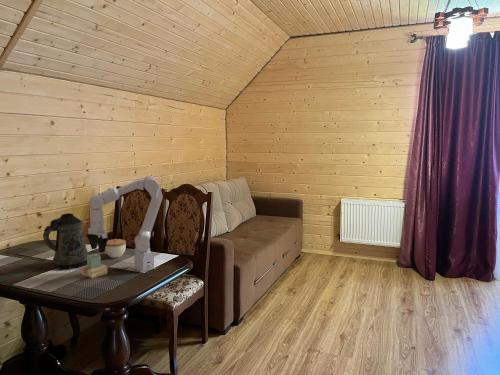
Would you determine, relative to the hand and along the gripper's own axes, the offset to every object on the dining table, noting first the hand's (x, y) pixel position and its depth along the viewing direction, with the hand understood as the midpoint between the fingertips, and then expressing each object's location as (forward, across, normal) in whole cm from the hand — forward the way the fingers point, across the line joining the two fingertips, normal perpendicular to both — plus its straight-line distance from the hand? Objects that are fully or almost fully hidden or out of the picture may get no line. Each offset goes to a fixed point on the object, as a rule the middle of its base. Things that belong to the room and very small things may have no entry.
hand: (98, 250), depth 182 cm
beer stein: (+10, -19, -5) cm, 23 cm away
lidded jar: (+11, -17, +18) cm, 27 cm away
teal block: (+7, +1, -2) cm, 7 cm away
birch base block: (+11, +1, -2) cm, 11 cm away
